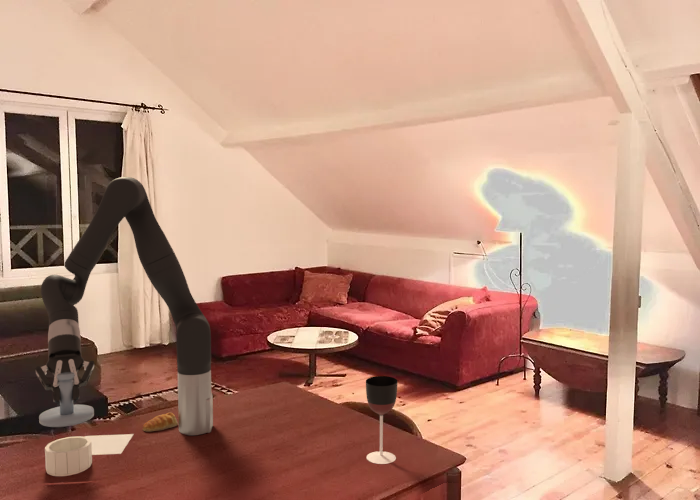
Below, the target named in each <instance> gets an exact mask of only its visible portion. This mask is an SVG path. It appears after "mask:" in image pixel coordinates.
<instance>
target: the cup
mask: <svg viewBox="0 0 700 500" xmlns="http://www.w3.org/2000/svg"><path fill="white" fill-rule="evenodd" d="M44 454H45V455H44V457H45V458H44V459H45V470H46V471H45V472H46V473H47V475H50V476H53V477H67V476H72V475H77V474H80V473H83V472H84V471H86V470H88V469H89V468H90V467H91V466H92V463H93V455H92V442H91V440H90V439H89V438H87V437H85V436H82V435H81V436H80V435H78V436H67V437H63V438H59V439H58V438H57V439H56V440H53V441H51V442H48V443H47V444H46V446H45V447H44Z"/></svg>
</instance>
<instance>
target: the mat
mask: <svg viewBox="0 0 700 500" xmlns="http://www.w3.org/2000/svg"><path fill="white" fill-rule="evenodd" d="M134 434H135V433H129V434H128V433H127V434H124V433H123V434H101V435H99V434H98V435H85V436H84V437H87V438H89V439H90V440H91V442H92V456H99V455H102V456H103V455H121V454H122V453H123V451H124V450H125V448H126V447H127V445H128V444H129V443H130V441H131V439H132V438H133V437H134Z"/></svg>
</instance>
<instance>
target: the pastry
mask: <svg viewBox="0 0 700 500" xmlns="http://www.w3.org/2000/svg"><path fill="white" fill-rule="evenodd" d="M178 423H179V422H178V420H177V418H176V415H175V414H174V413H173V412H167V413H163V414H159V415H156V416H154V417H153V418H152V419H149V420H148V421H146V422H145V423H144V424H143V425H142V431H144V432H147V433H152V432H157V431H158V432H159V431H163V430H164V431H165V430H167V429H170V428H174V427H177V426H179V425H178Z"/></svg>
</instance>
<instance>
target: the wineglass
mask: <svg viewBox="0 0 700 500" xmlns="http://www.w3.org/2000/svg"><path fill="white" fill-rule="evenodd" d="M398 382H399V380H398V379H396V378H395V377H392V376H387V375H377V376H370V377H368V378H367V379H366V380H365V392H366V393H365V394H366V400H367V401H366V402H367V405H368V407H369V408H370V410H371V411H372V412H374V413H376V414H377V415H379V451H373V452H370V453H368V454H367V455H366V461H368V462H369V463H373V464H378V465H385V464H386V465H387V464H390V463H393V462H395V461H396V459H397V457H396V455H395V454H394V453H392V452H388V451H383V449H384V448H383V447H384V444H383V443H384V442H383V441H384V440H383V439H384V434H383V433H384V415H385V414H388V413H389V412H390V411H392V410H393V408H394V407H395V405H396V402H397V401H396V400H397V395H398Z"/></svg>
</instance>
